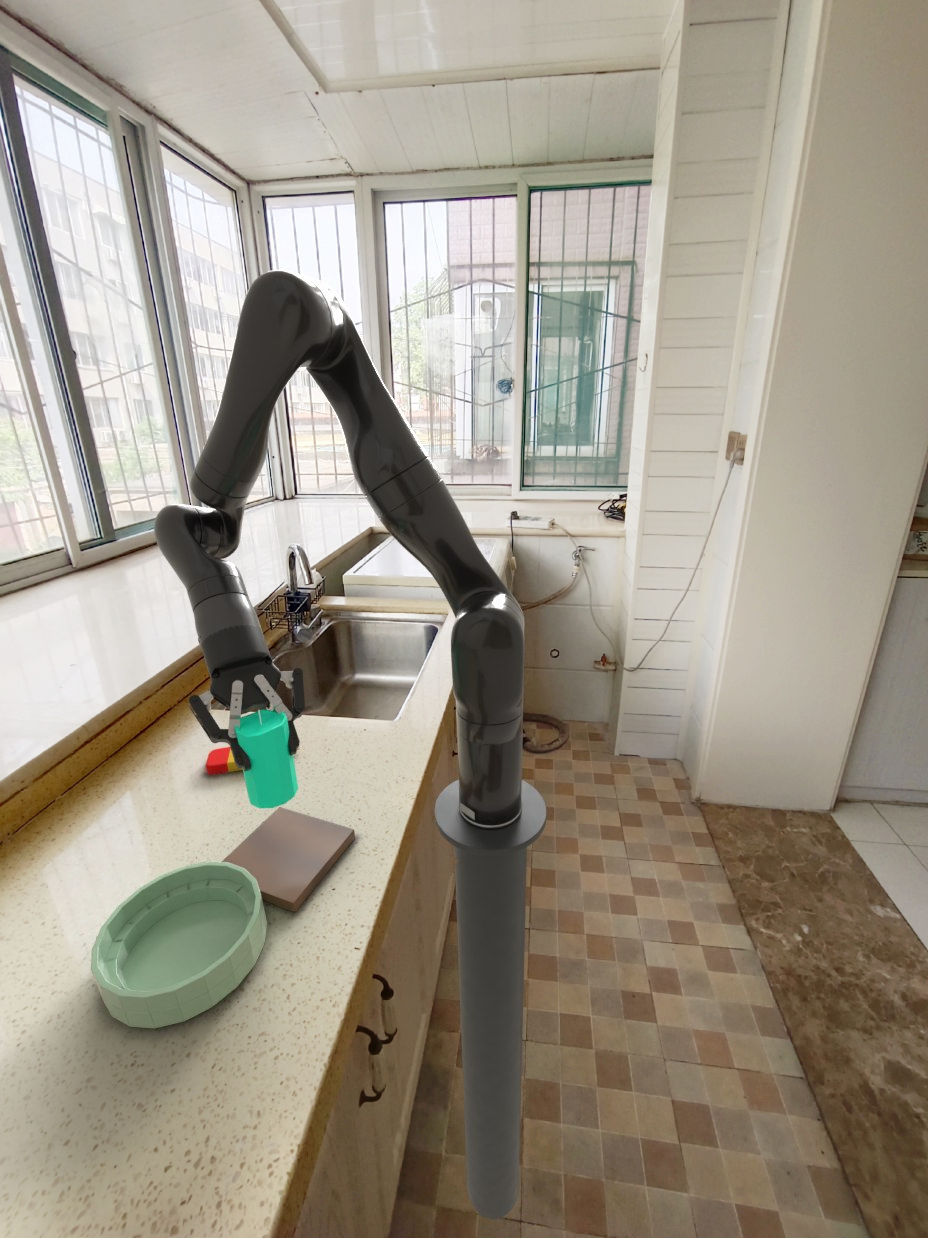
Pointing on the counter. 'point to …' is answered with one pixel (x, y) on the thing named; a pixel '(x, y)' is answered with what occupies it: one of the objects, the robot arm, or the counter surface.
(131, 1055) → the counter surface
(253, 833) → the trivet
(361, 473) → the robot arm
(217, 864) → the bowl
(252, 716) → the candle
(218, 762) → the popsicle
